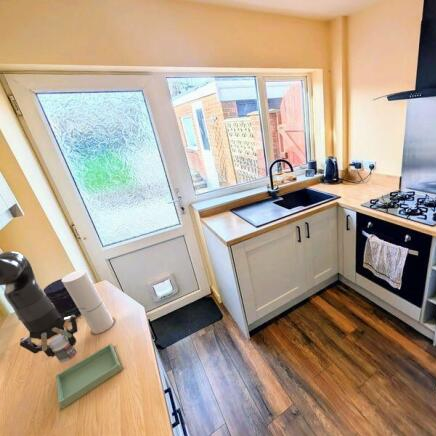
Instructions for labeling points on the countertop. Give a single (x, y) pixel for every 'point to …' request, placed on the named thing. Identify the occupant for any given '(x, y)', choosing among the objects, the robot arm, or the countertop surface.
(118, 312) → the countertop surface
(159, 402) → the countertop surface
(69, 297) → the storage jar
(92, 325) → the cylindrical container
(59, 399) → the tray
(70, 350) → the pill bottle
